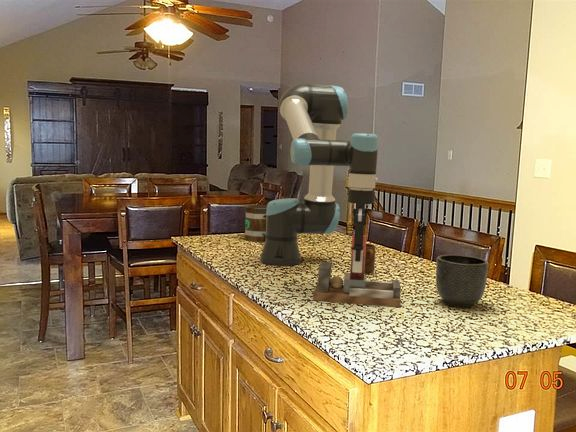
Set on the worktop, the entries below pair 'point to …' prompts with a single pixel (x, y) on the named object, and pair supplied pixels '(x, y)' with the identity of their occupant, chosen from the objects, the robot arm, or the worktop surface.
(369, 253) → the mug
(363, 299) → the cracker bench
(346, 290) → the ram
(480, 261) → the planter
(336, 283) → the walnut
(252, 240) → the mug
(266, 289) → the worktop surface
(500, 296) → the worktop surface
